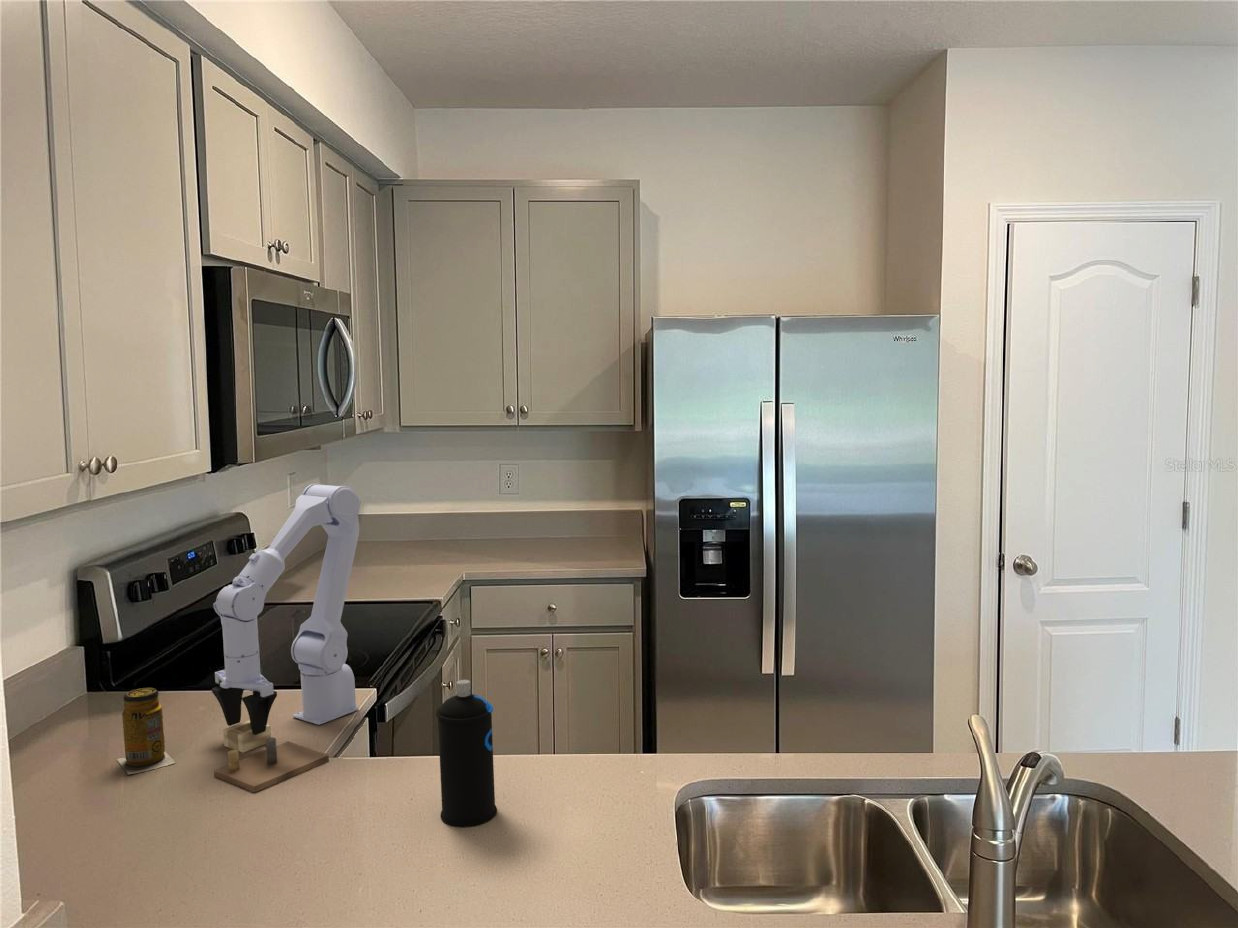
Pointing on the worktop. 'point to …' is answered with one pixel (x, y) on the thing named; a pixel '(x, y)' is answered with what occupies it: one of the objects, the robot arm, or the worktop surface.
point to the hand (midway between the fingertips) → (246, 728)
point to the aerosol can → (466, 758)
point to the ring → (244, 737)
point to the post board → (269, 765)
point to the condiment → (143, 732)
